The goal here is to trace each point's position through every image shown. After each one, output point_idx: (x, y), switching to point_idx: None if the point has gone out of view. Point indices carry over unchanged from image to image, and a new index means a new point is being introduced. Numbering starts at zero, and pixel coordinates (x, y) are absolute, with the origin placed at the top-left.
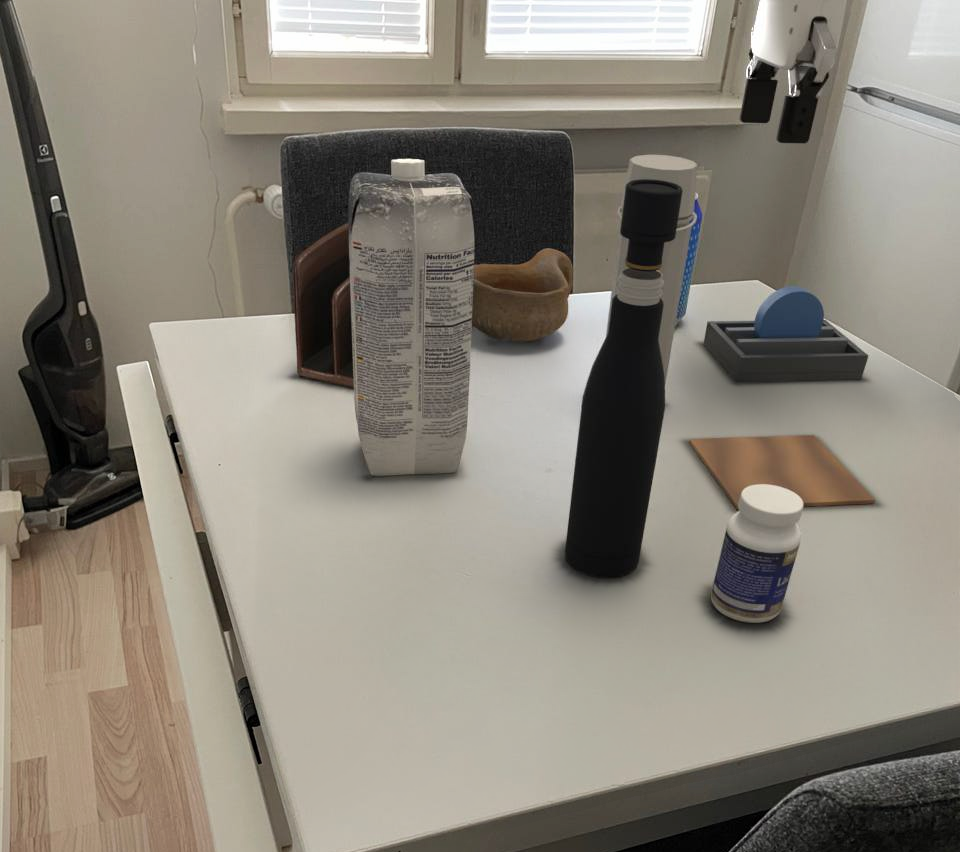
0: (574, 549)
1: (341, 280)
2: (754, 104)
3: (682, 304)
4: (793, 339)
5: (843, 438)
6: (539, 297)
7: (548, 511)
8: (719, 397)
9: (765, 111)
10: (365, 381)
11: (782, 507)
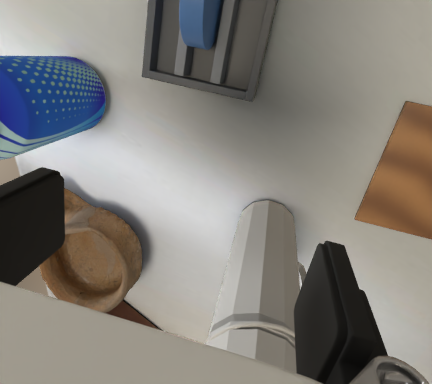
0: None
1: None
2: (32, 246)
3: (90, 79)
4: (228, 2)
5: (422, 65)
6: (129, 271)
7: (398, 350)
8: (281, 138)
9: (44, 201)
10: None
11: None
